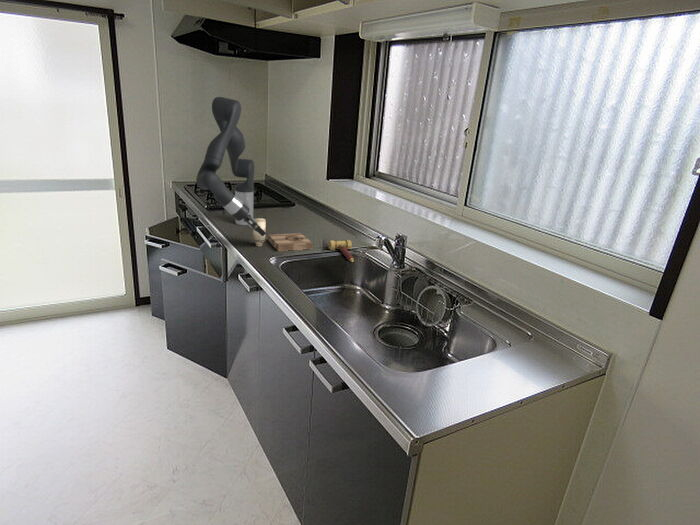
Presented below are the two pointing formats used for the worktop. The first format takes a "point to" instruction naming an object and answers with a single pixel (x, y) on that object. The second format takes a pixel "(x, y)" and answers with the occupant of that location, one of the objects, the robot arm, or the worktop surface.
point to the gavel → (342, 247)
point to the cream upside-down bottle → (256, 235)
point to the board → (289, 242)
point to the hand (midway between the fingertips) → (261, 232)
